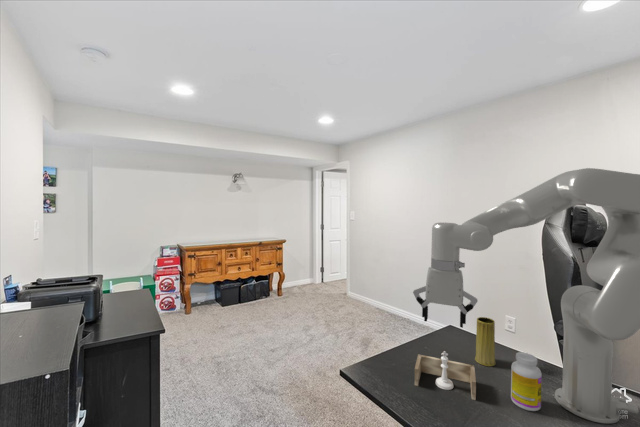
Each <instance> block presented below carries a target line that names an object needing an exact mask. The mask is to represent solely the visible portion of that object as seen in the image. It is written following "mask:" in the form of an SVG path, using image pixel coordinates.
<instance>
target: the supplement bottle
mask: <svg viewBox="0 0 640 427" xmlns="http://www.w3.org/2000/svg"><path fill="white" fill-rule="evenodd" d="M537 365H538V357H536V356H535V355H533V354H532V353H528V352H521V351H520V352H519V351H518V352H516V353H515V361H513V362H512V363H511V367H510V369H511V370H510V372H511V373H510V374H511V375H510V377H511V378H510V399H511V401H512V403H513V404H515V405H516V406H517V407H519V408H520V409H522V410H525V411H530V412H536V411H539V410H541V408H542V376H543V374H542V371H541V369H540V368H539V367H538V366H537Z"/></svg>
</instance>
